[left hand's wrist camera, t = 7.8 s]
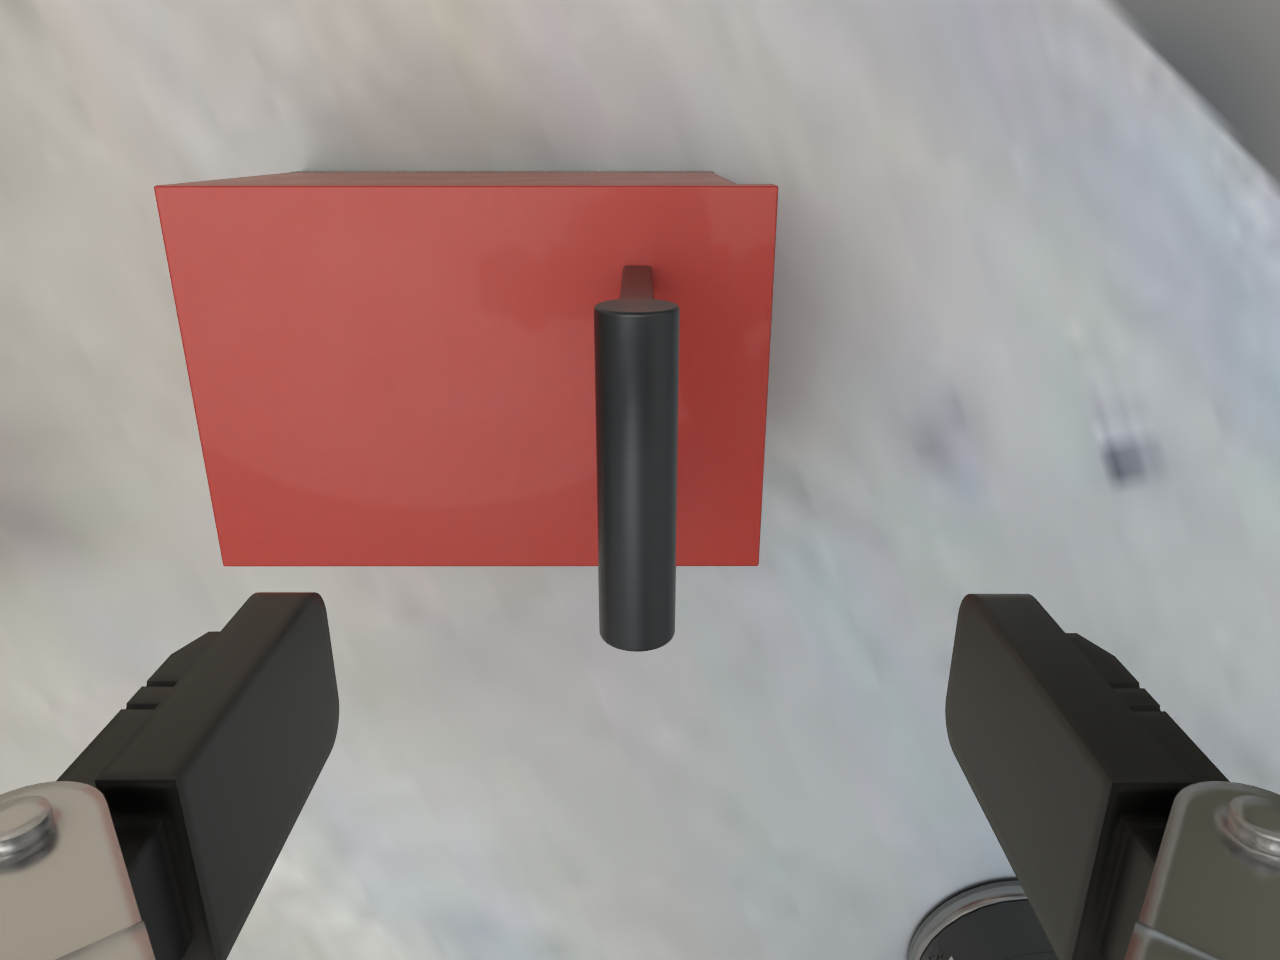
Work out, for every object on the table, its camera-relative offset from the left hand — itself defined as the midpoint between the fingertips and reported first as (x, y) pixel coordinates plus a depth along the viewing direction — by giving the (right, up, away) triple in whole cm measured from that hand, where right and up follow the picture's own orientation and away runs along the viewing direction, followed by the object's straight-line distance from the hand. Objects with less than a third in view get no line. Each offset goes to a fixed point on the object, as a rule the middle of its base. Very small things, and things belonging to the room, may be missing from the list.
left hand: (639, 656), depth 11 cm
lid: (-4, +5, +13) cm, 14 cm away
